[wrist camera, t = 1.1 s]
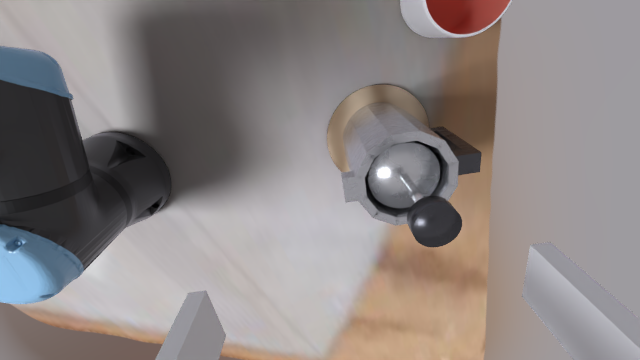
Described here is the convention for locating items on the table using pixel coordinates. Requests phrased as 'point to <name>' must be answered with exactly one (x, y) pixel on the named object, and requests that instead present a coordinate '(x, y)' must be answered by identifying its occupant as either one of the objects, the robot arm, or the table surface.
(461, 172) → the carafe
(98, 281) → the table surface
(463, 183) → the table surface
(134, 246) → the table surface
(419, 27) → the cup
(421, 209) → the plunger
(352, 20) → the table surface
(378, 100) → the trivet
